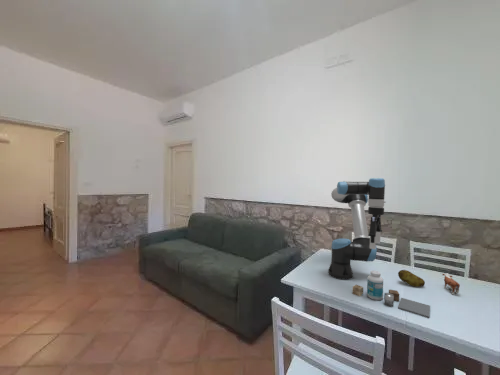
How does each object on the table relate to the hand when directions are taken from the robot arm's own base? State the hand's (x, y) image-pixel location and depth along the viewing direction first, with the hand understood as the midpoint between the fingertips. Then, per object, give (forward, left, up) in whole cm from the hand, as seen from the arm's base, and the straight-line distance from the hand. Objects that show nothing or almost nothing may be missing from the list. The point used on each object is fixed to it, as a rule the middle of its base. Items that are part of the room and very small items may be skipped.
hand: (375, 245), depth 125 cm
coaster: (+18, -2, -27) cm, 32 cm away
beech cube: (-7, -5, -27) cm, 28 cm away
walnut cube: (+9, +1, -27) cm, 28 cm away
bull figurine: (+32, +34, -27) cm, 54 cm away
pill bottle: (+1, -3, -27) cm, 27 cm away
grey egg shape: (+8, -7, -27) cm, 29 cm away
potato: (+14, +28, -27) cm, 41 cm away
